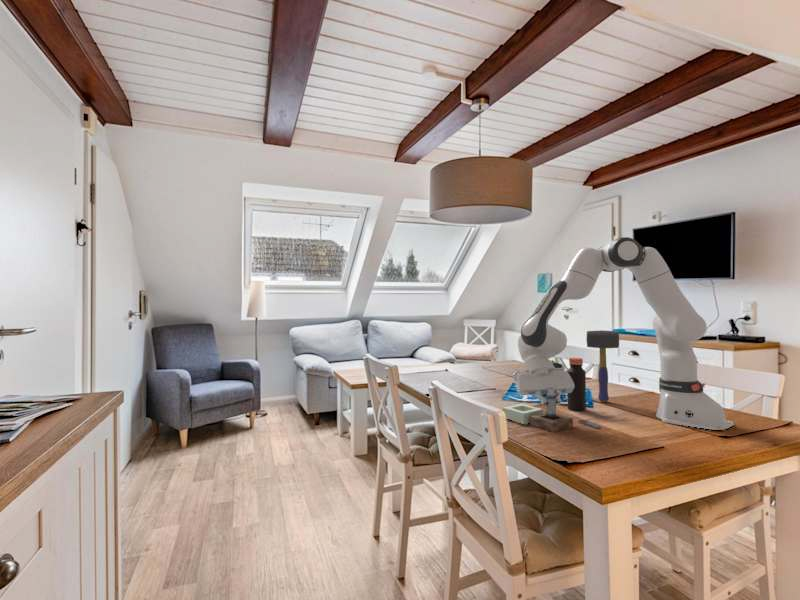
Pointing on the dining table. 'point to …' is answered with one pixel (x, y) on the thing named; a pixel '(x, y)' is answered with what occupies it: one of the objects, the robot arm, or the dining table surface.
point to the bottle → (577, 385)
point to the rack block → (521, 412)
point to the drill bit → (550, 404)
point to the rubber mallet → (603, 356)
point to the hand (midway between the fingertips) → (551, 403)
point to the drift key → (589, 424)
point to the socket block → (551, 422)
